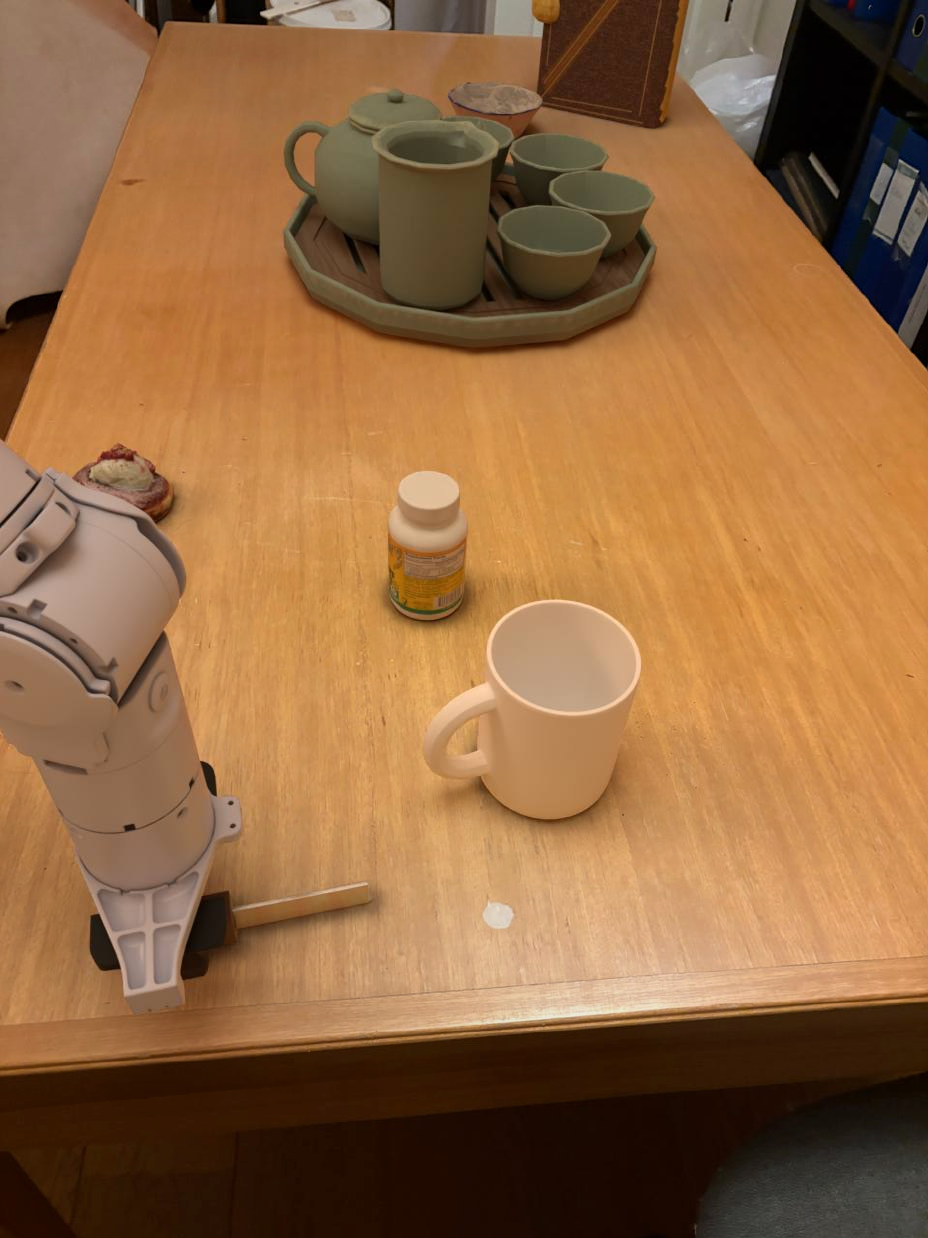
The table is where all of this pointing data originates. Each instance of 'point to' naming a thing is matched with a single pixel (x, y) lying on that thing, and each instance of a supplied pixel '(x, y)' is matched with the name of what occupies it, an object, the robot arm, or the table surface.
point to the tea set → (464, 227)
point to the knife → (289, 906)
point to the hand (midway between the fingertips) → (182, 925)
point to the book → (610, 57)
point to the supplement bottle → (427, 546)
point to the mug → (544, 709)
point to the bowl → (497, 103)
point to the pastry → (128, 480)
